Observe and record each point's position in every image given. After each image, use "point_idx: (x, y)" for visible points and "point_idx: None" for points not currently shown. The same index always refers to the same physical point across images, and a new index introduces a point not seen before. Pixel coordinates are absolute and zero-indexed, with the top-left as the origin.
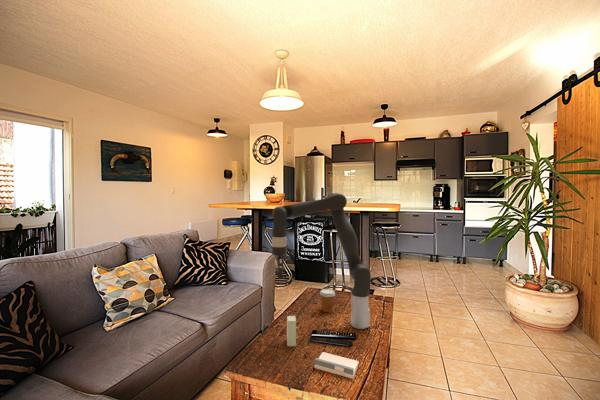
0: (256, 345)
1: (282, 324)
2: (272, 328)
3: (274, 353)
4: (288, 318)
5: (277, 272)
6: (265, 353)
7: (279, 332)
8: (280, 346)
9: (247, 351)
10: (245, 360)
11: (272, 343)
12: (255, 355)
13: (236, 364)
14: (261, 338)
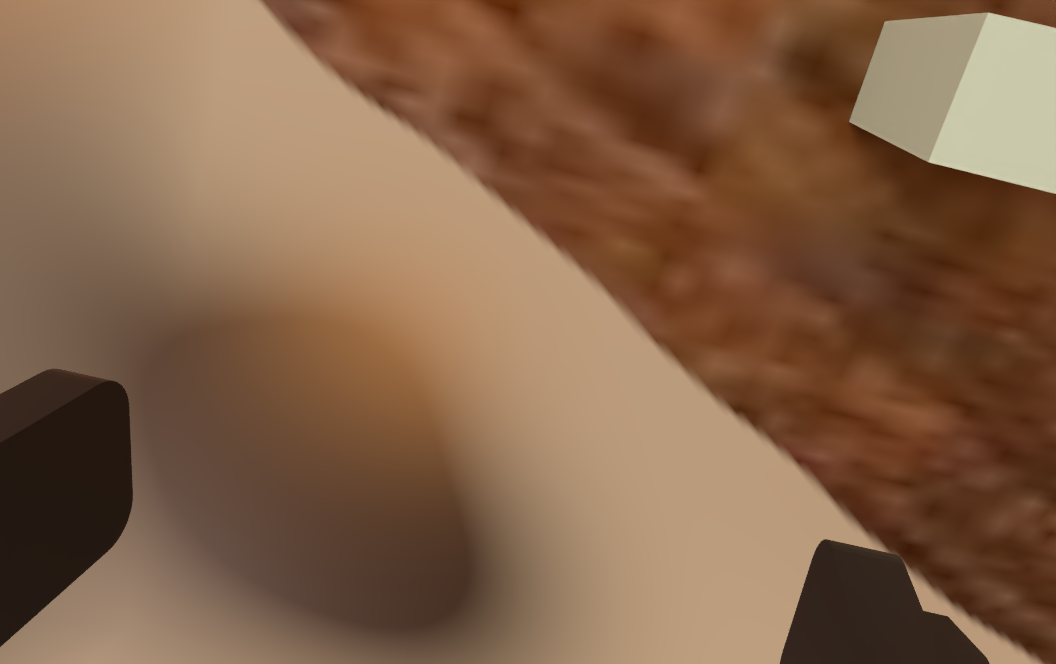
0: (812, 445)
1: (454, 62)
2: (519, 206)
3: (1048, 325)
4: (1033, 168)
5: (80, 530)
6: (1001, 405)
7: (637, 154)
8: (945, 228)
9: (883, 539)
10: (1023, 584)
11: (844, 292)
12: (987, 494)
13: (1045, 656)
14: (696, 370)
